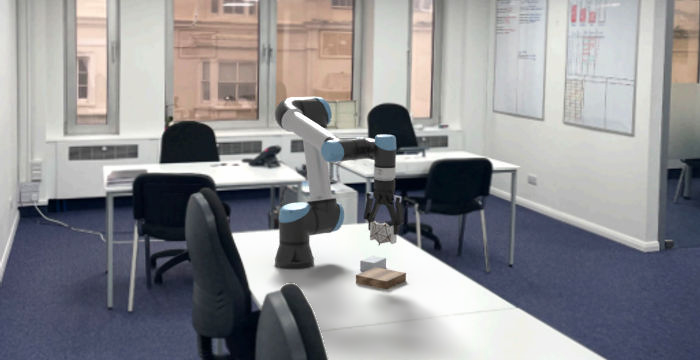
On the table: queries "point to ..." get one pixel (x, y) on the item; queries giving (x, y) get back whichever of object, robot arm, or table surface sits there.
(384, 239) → the game die
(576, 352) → the table surface
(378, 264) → the card box
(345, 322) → the table surface
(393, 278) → the plinth
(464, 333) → the table surface
